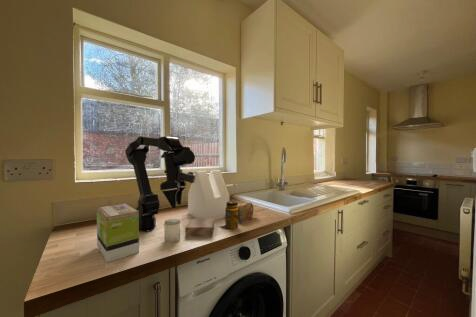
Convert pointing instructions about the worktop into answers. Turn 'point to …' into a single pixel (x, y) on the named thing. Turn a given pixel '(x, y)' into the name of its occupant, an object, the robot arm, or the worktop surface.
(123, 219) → the tea box
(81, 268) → the worktop surface
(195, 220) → the riser
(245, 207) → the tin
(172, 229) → the canister
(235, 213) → the condiment
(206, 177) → the white plastic jug
